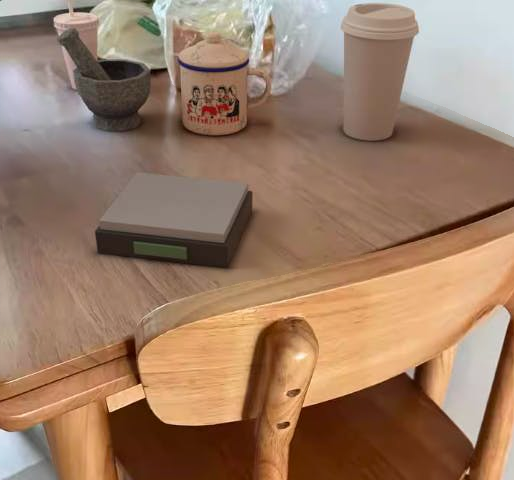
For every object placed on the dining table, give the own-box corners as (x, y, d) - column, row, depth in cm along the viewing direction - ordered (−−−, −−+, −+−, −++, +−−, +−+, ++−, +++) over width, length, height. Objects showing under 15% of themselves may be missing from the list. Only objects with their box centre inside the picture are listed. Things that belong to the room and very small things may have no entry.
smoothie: (63, 80, 112) (49, -21, 103) (105, 78, 113) (95, -22, 104) (62, 94, 107) (47, -11, 98) (106, 92, 108) (95, -11, 99)
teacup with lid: (179, 137, 95) (174, 43, 88) (182, 112, 102) (178, 23, 95) (271, 137, 95) (274, 43, 88) (268, 112, 102) (270, 24, 95)
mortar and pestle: (154, 109, 102) (148, 18, 95) (152, 135, 95) (146, 38, 88) (73, 110, 102) (60, 18, 94) (65, 136, 94) (50, 38, 87)
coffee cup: (380, 115, 102) (395, -1, 93) (417, 139, 95) (437, 17, 86) (319, 123, 99) (328, 4, 90) (353, 149, 92) (366, 23, 83)
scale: (96, 254, 71) (92, 223, 69) (136, 199, 80) (134, 170, 78) (226, 270, 69) (226, 238, 67) (252, 211, 79) (252, 181, 77)
